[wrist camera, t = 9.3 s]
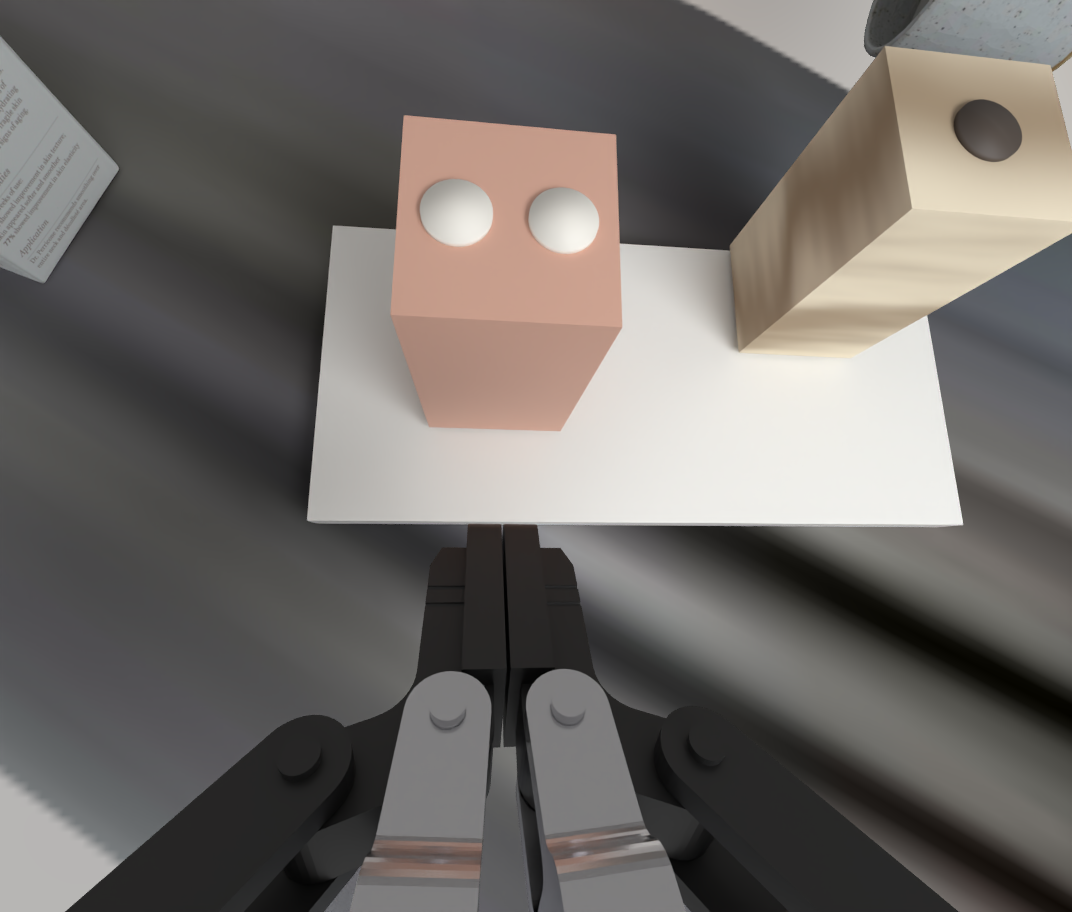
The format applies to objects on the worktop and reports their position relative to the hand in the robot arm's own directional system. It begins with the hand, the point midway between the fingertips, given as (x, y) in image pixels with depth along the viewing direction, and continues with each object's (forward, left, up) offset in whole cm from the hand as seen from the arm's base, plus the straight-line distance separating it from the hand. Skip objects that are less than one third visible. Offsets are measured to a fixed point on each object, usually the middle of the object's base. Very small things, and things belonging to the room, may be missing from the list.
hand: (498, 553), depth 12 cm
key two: (-3, -7, -8) cm, 11 cm away
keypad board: (-9, -4, -9) cm, 13 cm away
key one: (-16, -4, -8) cm, 18 cm away
